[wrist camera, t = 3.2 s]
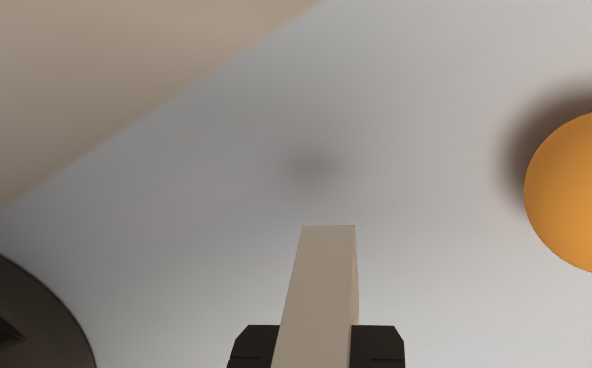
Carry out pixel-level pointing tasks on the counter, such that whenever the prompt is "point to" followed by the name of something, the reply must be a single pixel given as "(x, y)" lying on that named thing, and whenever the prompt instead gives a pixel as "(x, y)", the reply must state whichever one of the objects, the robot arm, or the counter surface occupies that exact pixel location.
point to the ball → (563, 192)
